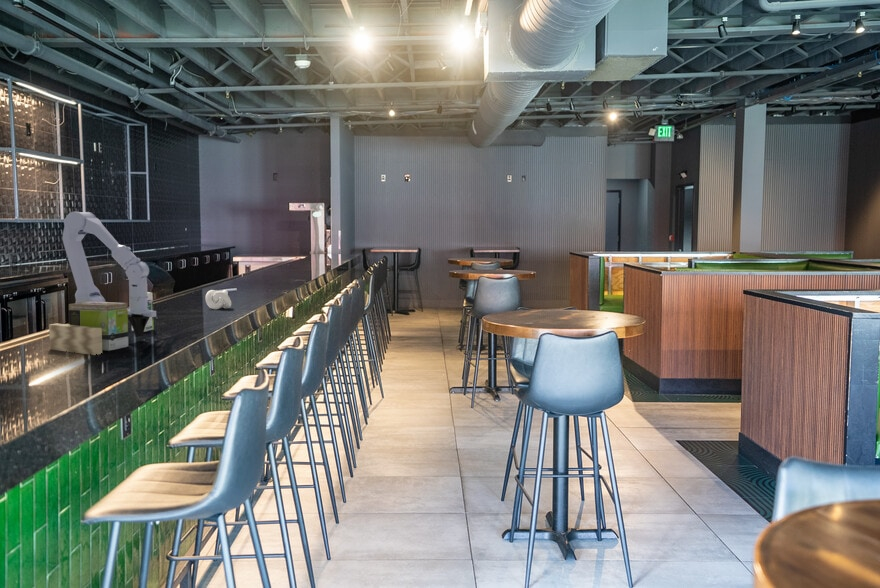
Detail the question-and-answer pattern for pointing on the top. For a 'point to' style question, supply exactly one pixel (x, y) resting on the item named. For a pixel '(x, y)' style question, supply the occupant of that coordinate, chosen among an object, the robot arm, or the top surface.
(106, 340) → the tea box
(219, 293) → the white curved lump
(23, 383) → the top surface
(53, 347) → the birch board
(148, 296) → the syrup box
